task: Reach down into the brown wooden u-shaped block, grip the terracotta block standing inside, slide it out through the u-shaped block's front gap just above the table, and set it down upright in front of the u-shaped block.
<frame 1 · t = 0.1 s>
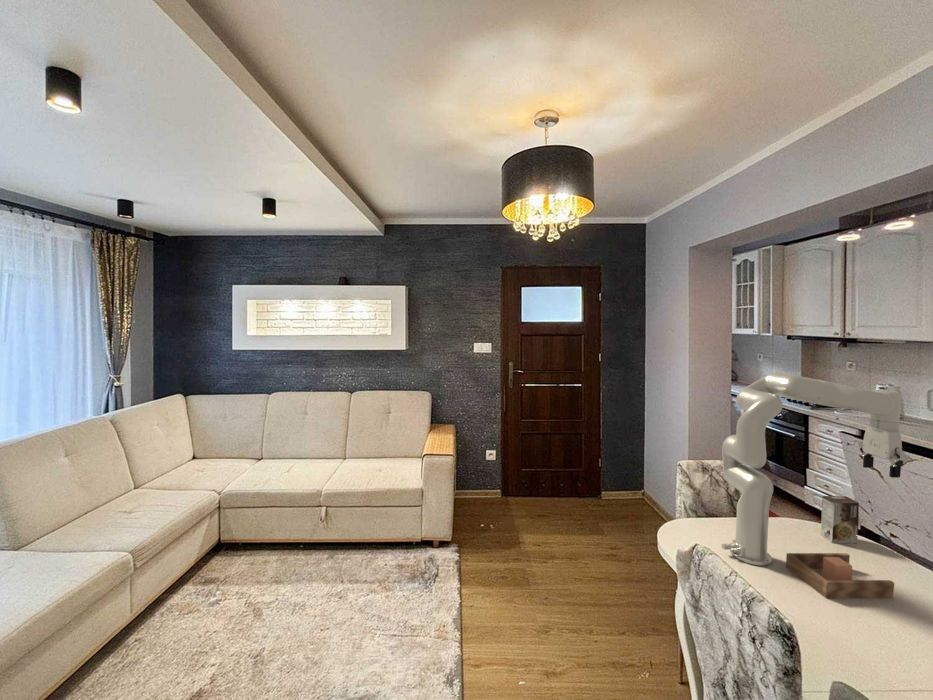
hand: (880, 472, 151), 31 cm above the table, fingers open, 9 cm apart
terracotta block: (836, 582, 138), resting in brown wooden u-shaped block
coffee box: (838, 539, 165), on the table
brown wooden u-shaped block: (836, 581, 138), on the table
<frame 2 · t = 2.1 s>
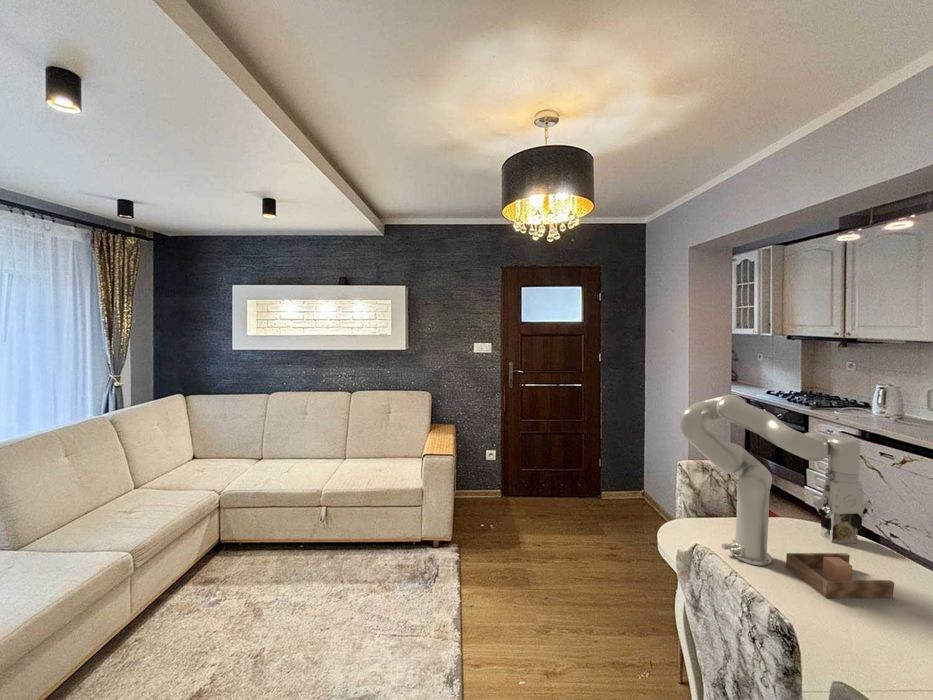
hand: (840, 528, 137), 18 cm above the table, fingers open, 9 cm apart
nothing on the table moved.
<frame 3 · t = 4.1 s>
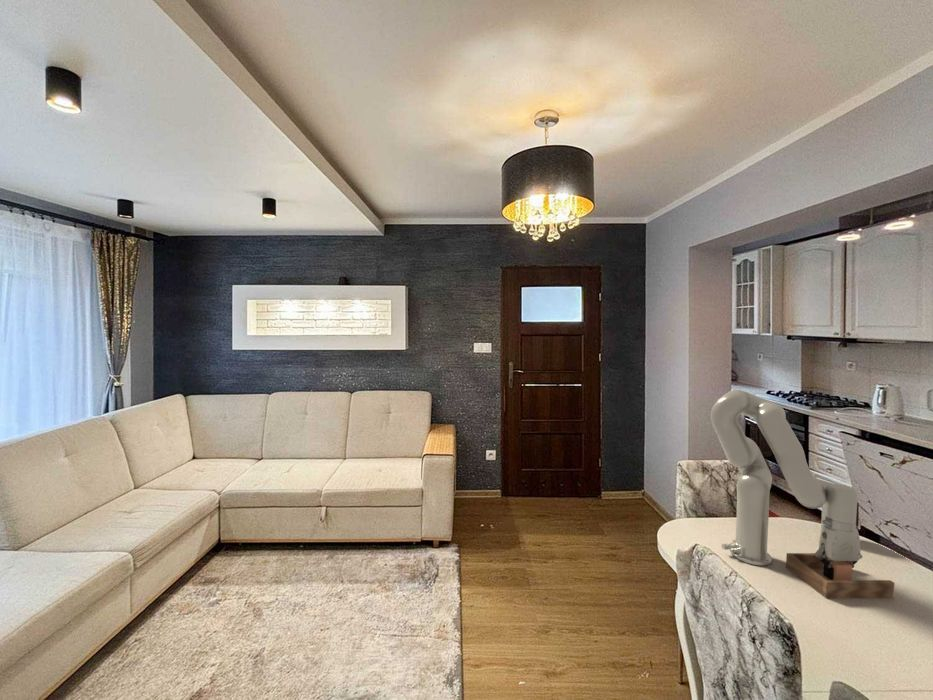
hand: (836, 577, 138), 2 cm above the table, fingers closed on terracotta block, 5 cm apart
terracotta block: (836, 581, 138), resting in brown wooden u-shaped block, touching gripper
everything else where it was.
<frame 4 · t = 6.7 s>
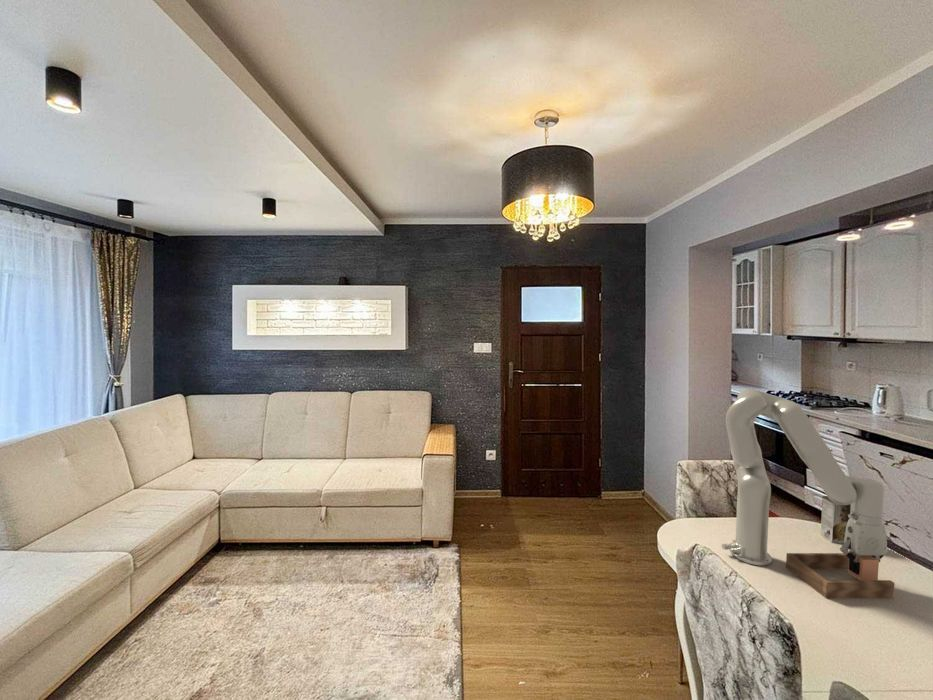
hand: (862, 571, 138), 4 cm above the table, fingers closed on terracotta block, 5 cm apart
terracotta block: (862, 576, 138), point 2 cm above the table, touching gripper
everything else where it was.
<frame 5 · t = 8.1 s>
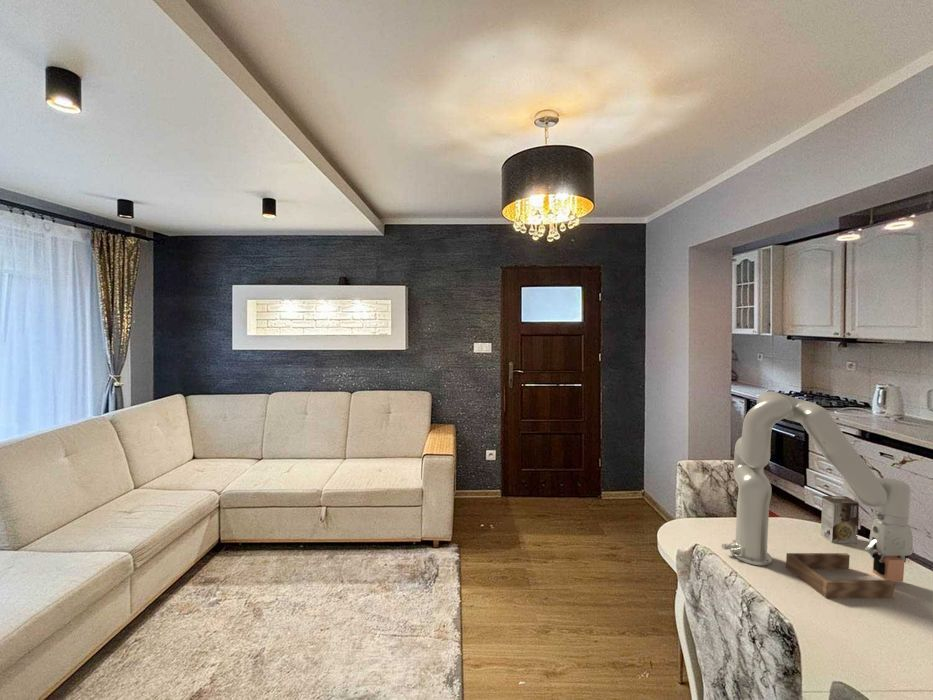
hand: (887, 571, 138), 3 cm above the table, fingers closed on terracotta block, 5 cm apart
terracotta block: (887, 576, 138), point 2 cm above the table, touching gripper
everything else where it was.
when the fingers open (2 cm above the table, at t = 9.1 s): terracotta block stays where it is, on the table.
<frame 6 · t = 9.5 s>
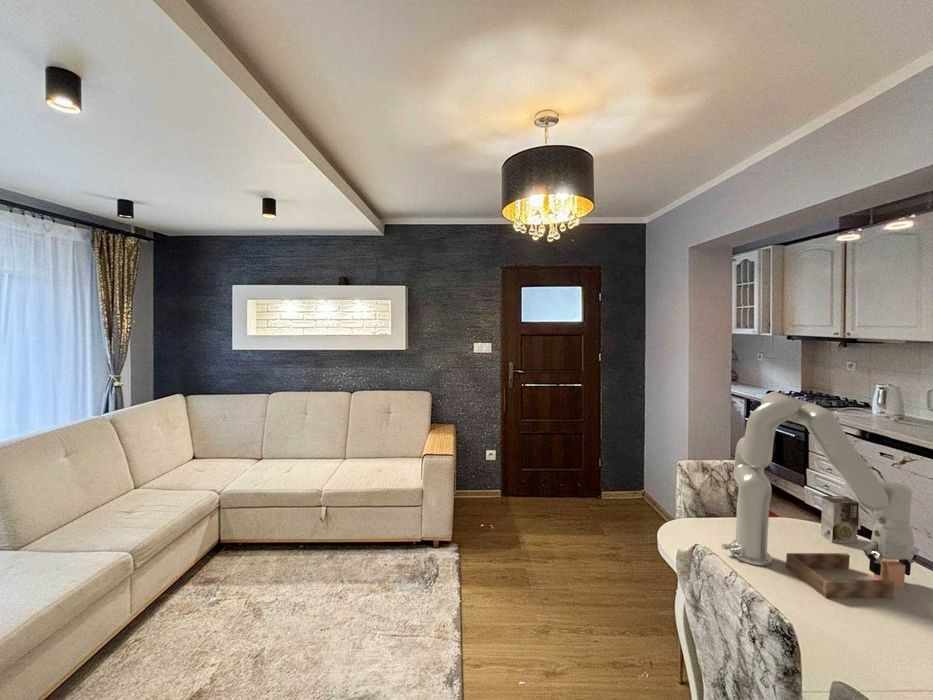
hand: (889, 572, 138), 3 cm above the table, fingers open, 9 cm apart
terracotta block: (888, 582, 138), on the table
everything else where it was.
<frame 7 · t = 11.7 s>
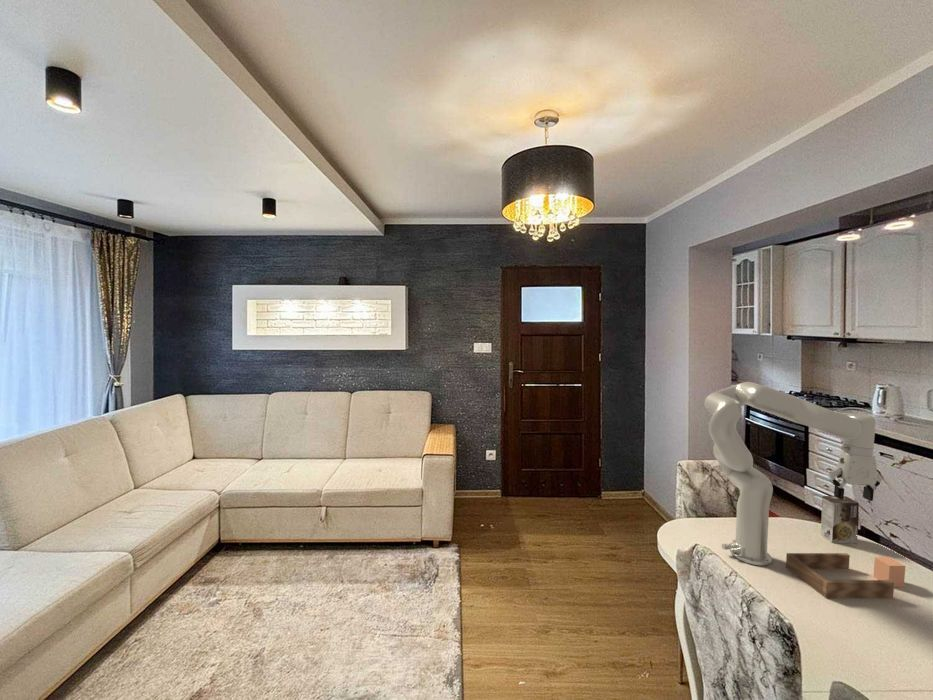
hand: (853, 498, 146), 24 cm above the table, fingers open, 9 cm apart
nothing on the table moved.
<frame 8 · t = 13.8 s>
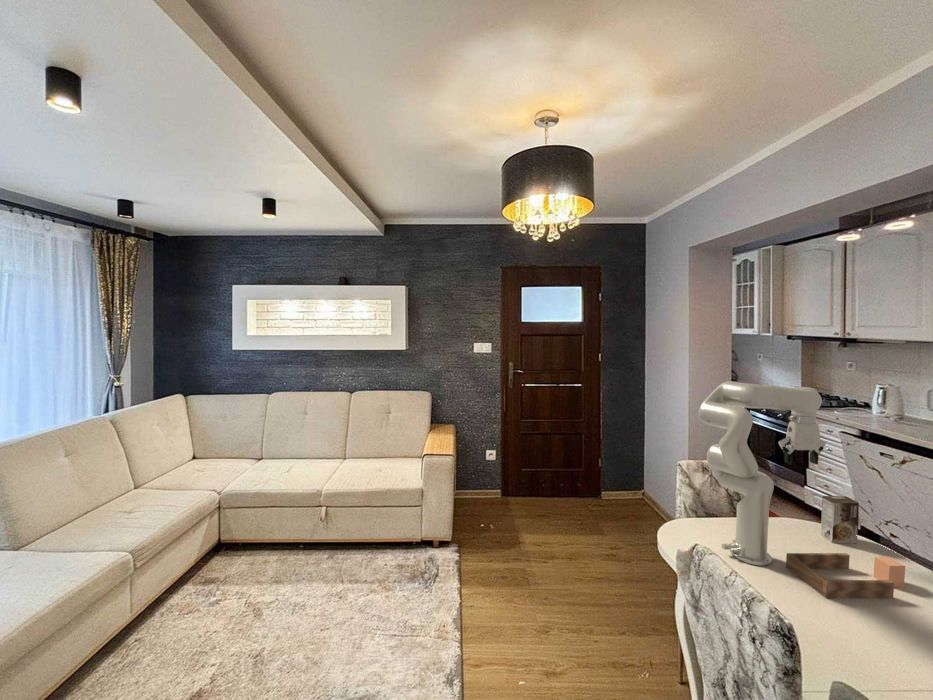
hand: (801, 463, 163), 30 cm above the table, fingers open, 9 cm apart
nothing on the table moved.
at the end: terracotta block inside the target area (1.6 cm from its centre), on the table; terracotta block tilted 0°; the gripper is holding nothing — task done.
